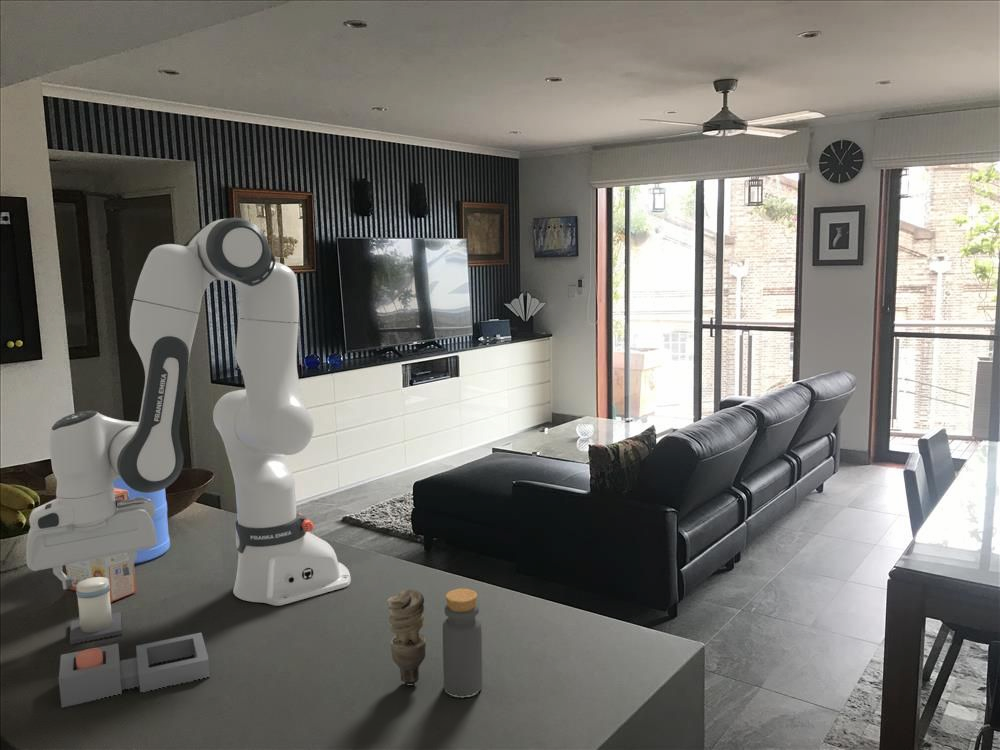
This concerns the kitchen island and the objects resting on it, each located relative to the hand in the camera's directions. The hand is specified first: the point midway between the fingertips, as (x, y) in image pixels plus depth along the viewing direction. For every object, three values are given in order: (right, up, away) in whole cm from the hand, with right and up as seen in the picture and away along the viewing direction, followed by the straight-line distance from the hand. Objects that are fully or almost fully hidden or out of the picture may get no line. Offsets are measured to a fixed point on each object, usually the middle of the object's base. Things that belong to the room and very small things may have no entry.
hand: (98, 581), depth 141 cm
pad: (-1, -9, +1) cm, 9 cm away
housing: (+14, -11, -15) cm, 23 cm away
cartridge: (-1, -8, +1) cm, 8 cm away
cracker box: (-8, -7, +17) cm, 20 cm away
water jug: (-11, -4, +37) cm, 39 cm away
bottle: (+65, -12, -19) cm, 68 cm away
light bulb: (+56, -11, -18) cm, 60 cm away
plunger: (+8, -11, -18) cm, 23 cm away
